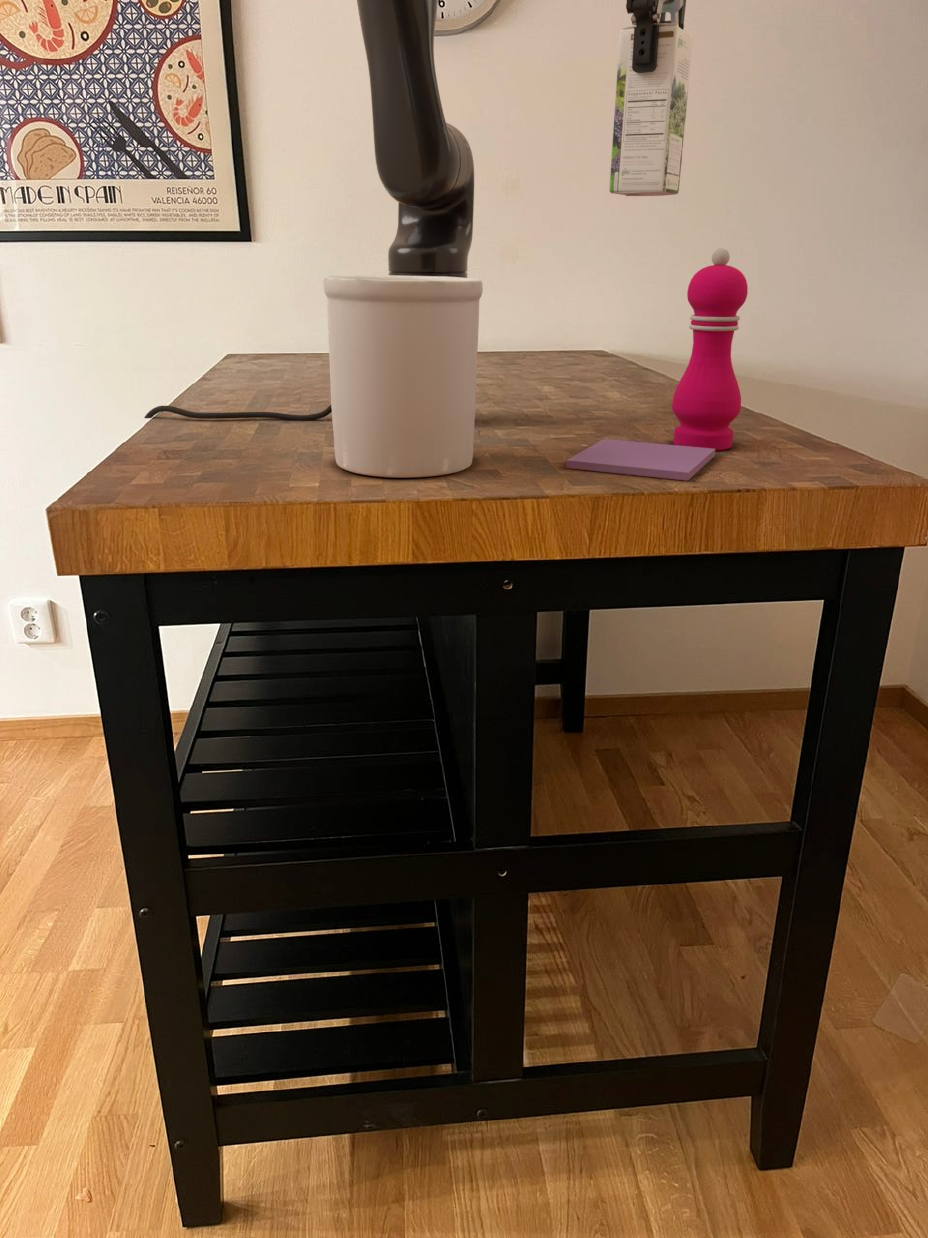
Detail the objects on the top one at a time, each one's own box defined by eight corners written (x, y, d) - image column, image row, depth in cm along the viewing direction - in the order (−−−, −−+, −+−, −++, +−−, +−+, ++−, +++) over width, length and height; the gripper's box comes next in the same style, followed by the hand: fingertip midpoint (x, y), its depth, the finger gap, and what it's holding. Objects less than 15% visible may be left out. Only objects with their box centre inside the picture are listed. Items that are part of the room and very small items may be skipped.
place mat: (565, 468, 91) (566, 459, 91) (603, 445, 101) (603, 438, 101) (687, 480, 86) (688, 472, 86) (714, 456, 96) (715, 448, 96)
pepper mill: (738, 453, 97) (761, 248, 90) (668, 450, 99) (685, 248, 91) (734, 440, 104) (755, 248, 96) (668, 437, 105) (684, 247, 98)
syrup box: (626, 196, 98) (635, 37, 93) (681, 195, 96) (693, 31, 90) (608, 193, 94) (617, 26, 88) (666, 192, 91) (678, 19, 86)
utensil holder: (466, 446, 101) (467, 273, 94) (494, 477, 87) (497, 278, 81) (329, 450, 98) (320, 274, 92) (335, 483, 85) (325, 279, 78)
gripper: (646, -105, 92) (634, 89, 98) (602, -157, 80) (592, 68, 86) (723, -117, 89) (706, 84, 95) (689, -173, 77) (673, 61, 83)
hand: (652, 75), depth 91 cm, fingers closed on syrup box, 5 cm apart
